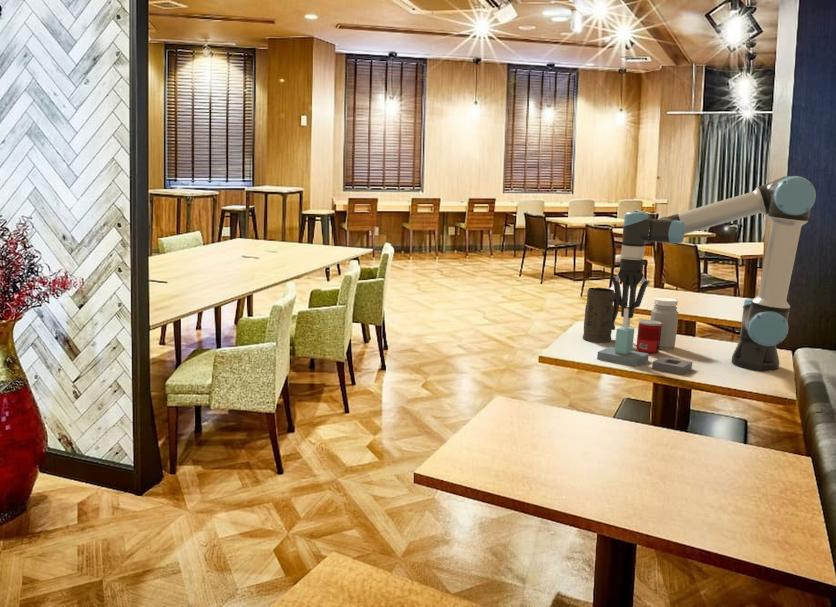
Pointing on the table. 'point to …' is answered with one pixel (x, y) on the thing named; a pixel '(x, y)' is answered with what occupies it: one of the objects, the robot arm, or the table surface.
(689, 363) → the hollow square frame
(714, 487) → the table surface
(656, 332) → the canned food
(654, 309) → the jar
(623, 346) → the plug
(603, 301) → the beer stein
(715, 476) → the table surface
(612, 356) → the port panel
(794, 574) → the table surface
